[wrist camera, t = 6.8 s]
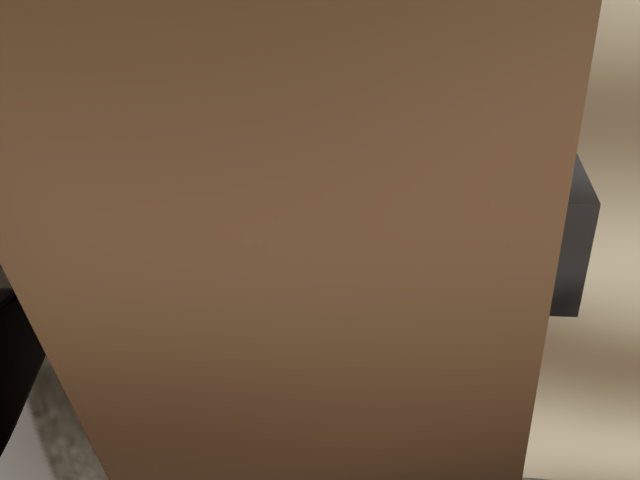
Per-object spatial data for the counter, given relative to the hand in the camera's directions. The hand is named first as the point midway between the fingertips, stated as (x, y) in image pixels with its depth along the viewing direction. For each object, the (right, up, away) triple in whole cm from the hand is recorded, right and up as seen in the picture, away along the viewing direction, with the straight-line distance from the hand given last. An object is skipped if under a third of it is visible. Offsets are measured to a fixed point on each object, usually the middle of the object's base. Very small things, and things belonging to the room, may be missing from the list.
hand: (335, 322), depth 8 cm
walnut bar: (0, +1, +1) cm, 1 cm away
